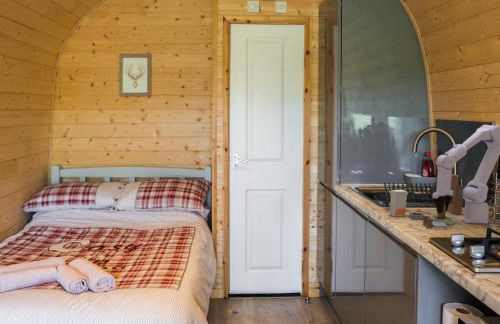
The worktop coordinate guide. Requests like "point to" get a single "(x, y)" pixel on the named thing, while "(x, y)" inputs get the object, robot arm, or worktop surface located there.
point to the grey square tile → (439, 225)
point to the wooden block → (456, 196)
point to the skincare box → (398, 203)
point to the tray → (446, 221)
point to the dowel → (442, 216)
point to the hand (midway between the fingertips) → (441, 212)
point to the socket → (416, 216)
